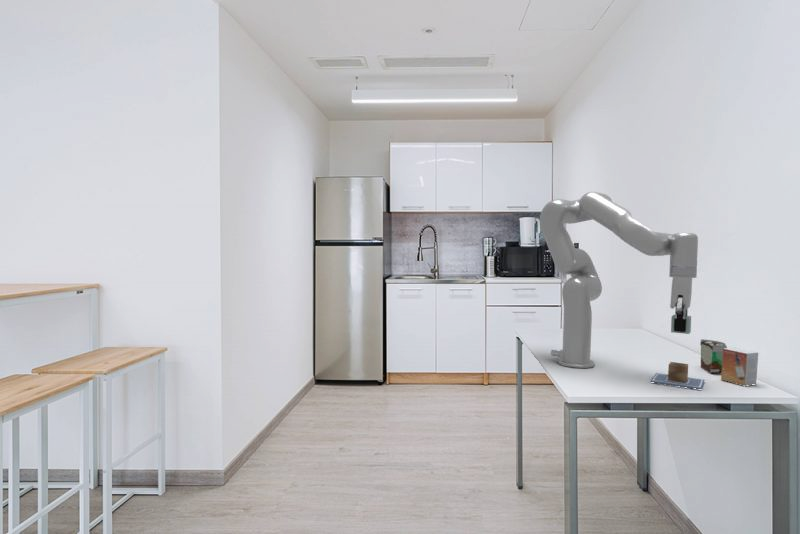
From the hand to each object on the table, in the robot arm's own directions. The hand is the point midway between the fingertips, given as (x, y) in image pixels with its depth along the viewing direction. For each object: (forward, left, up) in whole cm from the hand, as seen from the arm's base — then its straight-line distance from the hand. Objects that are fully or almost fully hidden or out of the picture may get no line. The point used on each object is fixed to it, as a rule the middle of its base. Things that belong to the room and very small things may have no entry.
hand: (680, 329), depth 166 cm
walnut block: (0, 0, -16) cm, 16 cm away
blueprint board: (0, 0, -17) cm, 17 cm away
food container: (+9, +25, -17) cm, 32 cm away
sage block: (0, 0, -1) cm, 1 cm away
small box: (+16, +12, -17) cm, 26 cm away
